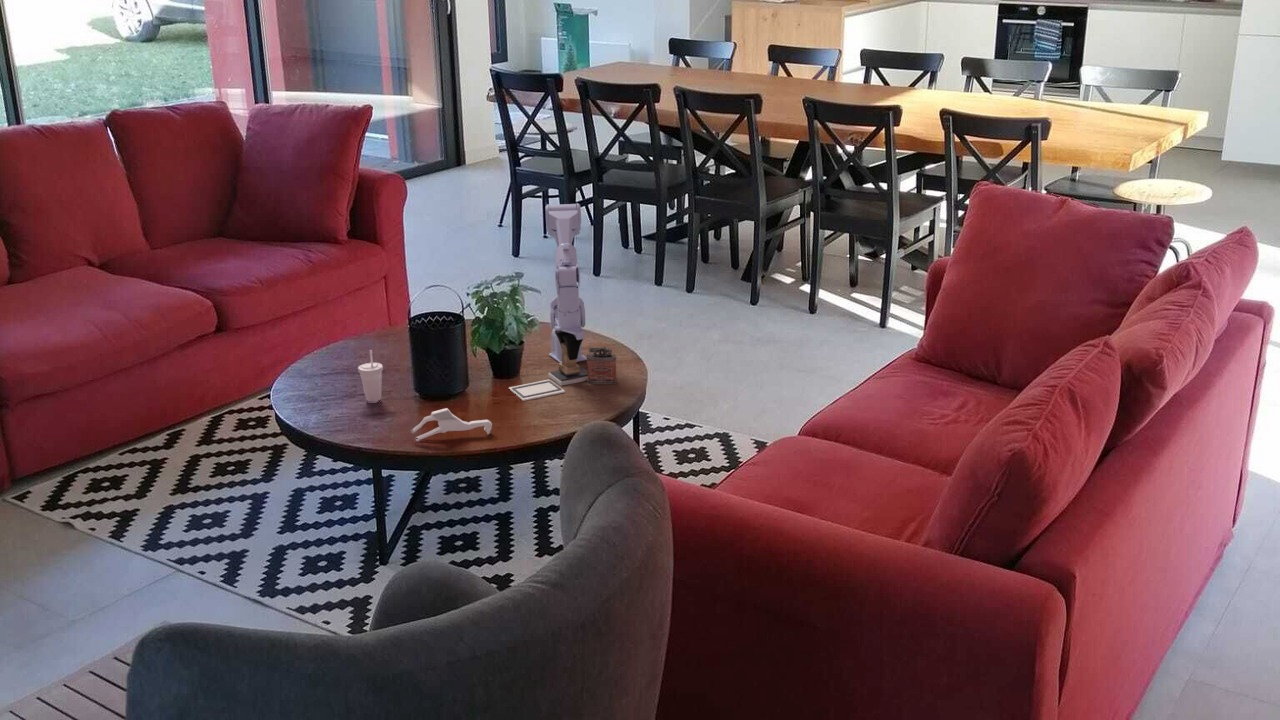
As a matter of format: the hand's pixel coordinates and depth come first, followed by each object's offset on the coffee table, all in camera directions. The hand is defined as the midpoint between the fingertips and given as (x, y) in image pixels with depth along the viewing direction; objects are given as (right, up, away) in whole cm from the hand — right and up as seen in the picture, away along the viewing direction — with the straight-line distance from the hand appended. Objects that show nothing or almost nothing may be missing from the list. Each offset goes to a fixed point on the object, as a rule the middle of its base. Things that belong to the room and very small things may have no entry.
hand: (570, 357), depth 335 cm
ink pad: (0, -6, +2) cm, 6 cm away
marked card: (-9, -9, -6) cm, 14 cm away
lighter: (+9, -7, -1) cm, 11 cm away
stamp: (0, -4, +1) cm, 4 cm away
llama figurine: (-27, -20, -34) cm, 48 cm away
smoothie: (-51, -12, -12) cm, 54 cm away
